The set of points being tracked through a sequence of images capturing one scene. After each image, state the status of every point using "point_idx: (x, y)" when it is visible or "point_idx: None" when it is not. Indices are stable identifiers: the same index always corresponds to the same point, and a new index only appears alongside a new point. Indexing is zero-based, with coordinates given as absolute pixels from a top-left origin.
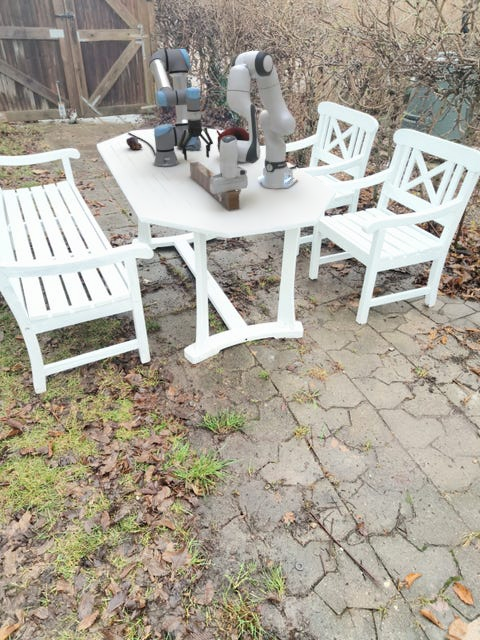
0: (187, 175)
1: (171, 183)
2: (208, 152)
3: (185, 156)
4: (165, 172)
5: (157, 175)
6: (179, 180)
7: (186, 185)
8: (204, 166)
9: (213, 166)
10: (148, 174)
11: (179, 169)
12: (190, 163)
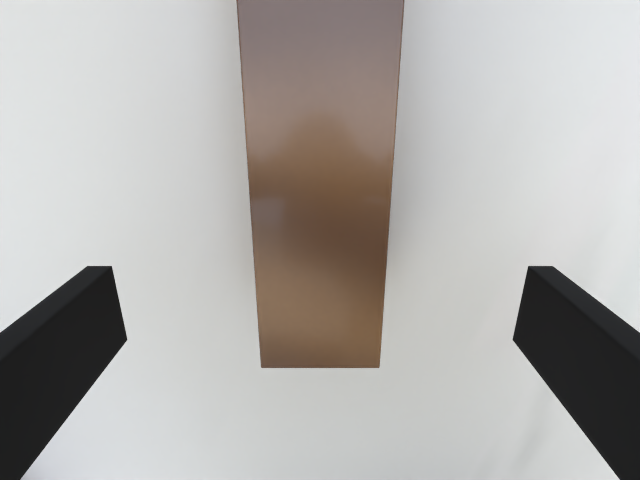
0: None
1: (611, 168)
2: (31, 317)
3: (596, 303)
4: (500, 453)
5: None
6: (500, 224)
7: (516, 30)
8: (245, 122)
9: (98, 450)
10: None
11: (374, 476)
12: (380, 344)
